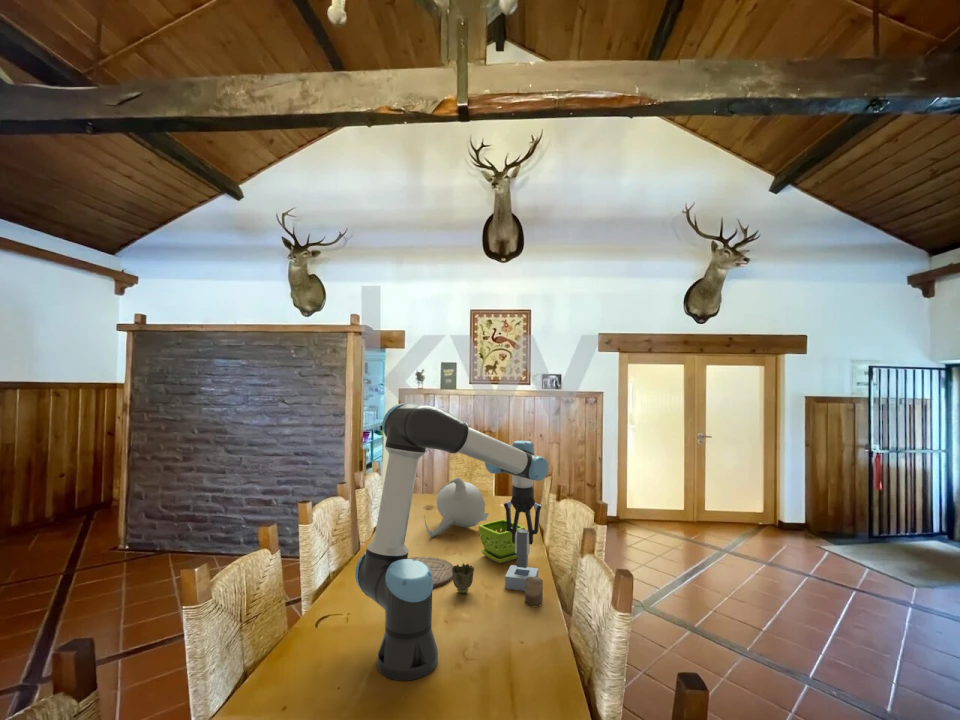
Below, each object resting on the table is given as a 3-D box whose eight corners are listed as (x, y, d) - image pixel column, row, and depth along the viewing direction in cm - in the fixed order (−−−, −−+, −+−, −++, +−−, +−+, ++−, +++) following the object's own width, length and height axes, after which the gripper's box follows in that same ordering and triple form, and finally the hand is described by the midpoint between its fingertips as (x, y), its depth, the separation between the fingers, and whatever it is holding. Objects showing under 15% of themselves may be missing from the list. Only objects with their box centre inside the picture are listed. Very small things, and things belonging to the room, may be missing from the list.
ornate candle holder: (454, 598, 150) (454, 573, 150) (449, 588, 157) (449, 564, 157) (476, 596, 152) (476, 571, 152) (470, 586, 159) (471, 562, 159)
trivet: (443, 594, 153) (443, 588, 153) (373, 586, 158) (373, 581, 158) (461, 564, 178) (461, 559, 178) (400, 558, 183) (400, 554, 183)
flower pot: (503, 548, 194) (504, 518, 195) (526, 559, 183) (526, 527, 184) (477, 555, 186) (477, 524, 187) (498, 567, 175) (499, 533, 175)
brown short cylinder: (541, 607, 145) (541, 585, 145) (523, 605, 146) (524, 582, 146) (543, 599, 150) (543, 577, 150) (526, 597, 152) (527, 575, 152)
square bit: (526, 568, 160) (526, 533, 160) (516, 566, 160) (516, 532, 161) (528, 564, 163) (528, 529, 163) (518, 563, 164) (518, 528, 164)
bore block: (534, 592, 155) (534, 580, 155) (504, 588, 158) (505, 576, 158) (538, 579, 165) (538, 568, 165) (510, 576, 167) (510, 565, 168)
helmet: (500, 488, 221) (454, 483, 195) (475, 545, 221) (426, 547, 194) (466, 466, 237) (419, 458, 210) (442, 519, 236) (393, 518, 209)
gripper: (547, 484, 164) (547, 551, 163) (502, 481, 168) (501, 546, 168) (544, 489, 157) (544, 559, 156) (497, 485, 161) (497, 553, 160)
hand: (522, 552), depth 162 cm, fingers closed on square bit, 3 cm apart
